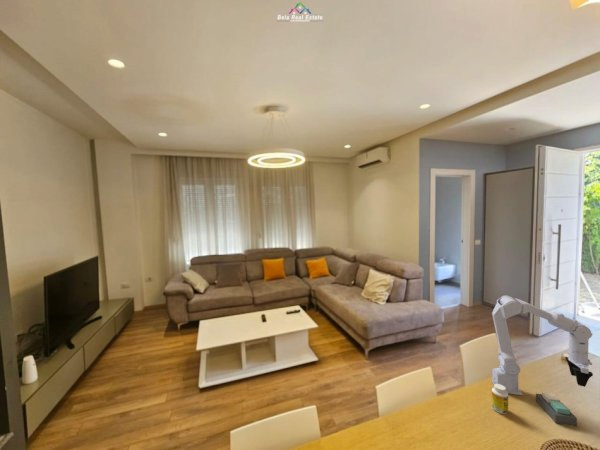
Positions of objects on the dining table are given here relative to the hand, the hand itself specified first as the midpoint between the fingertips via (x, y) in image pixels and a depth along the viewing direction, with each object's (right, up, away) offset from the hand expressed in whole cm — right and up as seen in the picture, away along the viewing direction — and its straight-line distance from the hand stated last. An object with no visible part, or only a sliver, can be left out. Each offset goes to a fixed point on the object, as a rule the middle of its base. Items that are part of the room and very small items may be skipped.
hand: (577, 380), depth 110 cm
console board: (-15, -11, -5) cm, 19 cm away
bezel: (-15, -11, -5) cm, 19 cm away
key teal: (-16, -8, -7) cm, 19 cm away
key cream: (-14, -7, -2) cm, 16 cm away
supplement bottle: (-36, -12, -2) cm, 38 cm away
